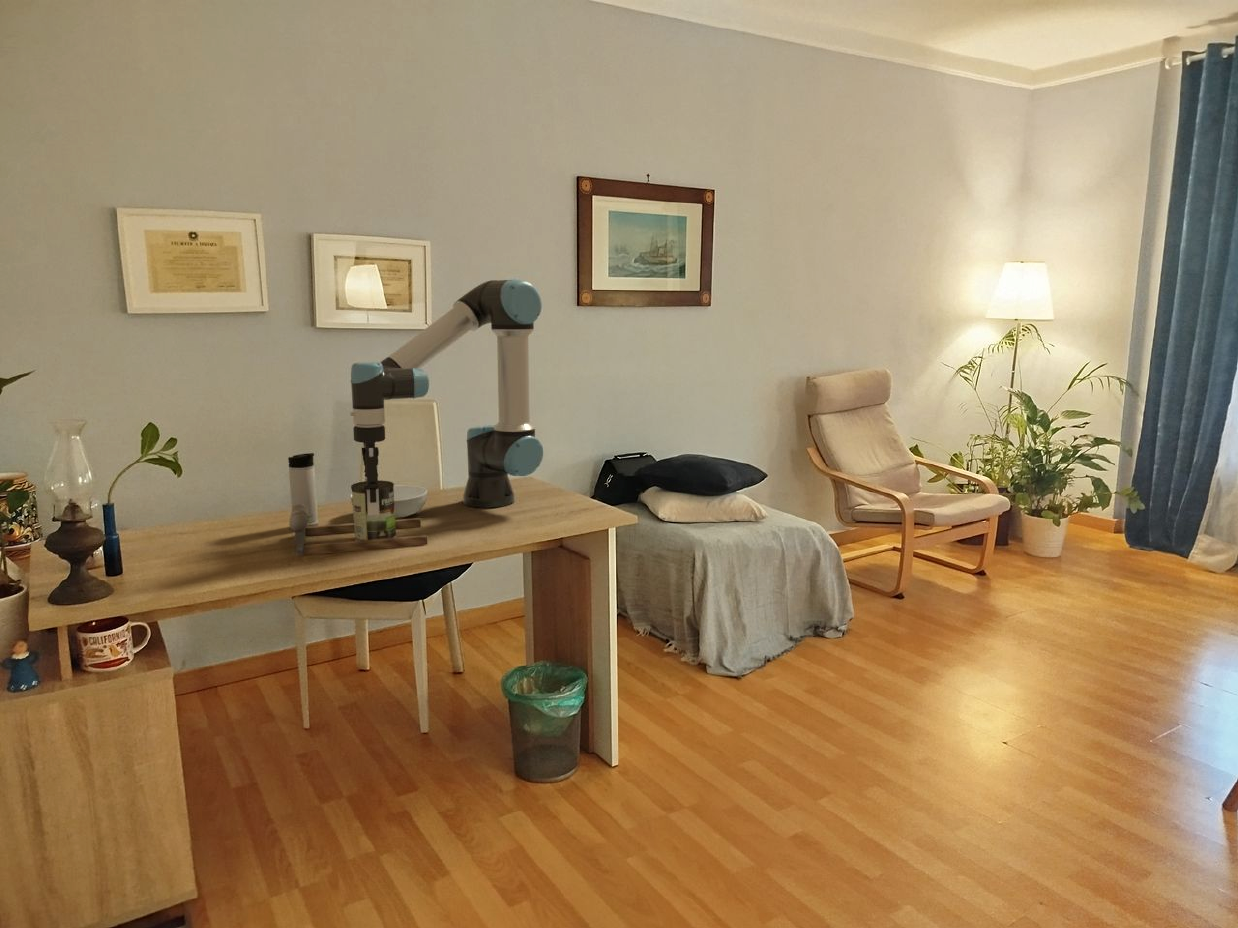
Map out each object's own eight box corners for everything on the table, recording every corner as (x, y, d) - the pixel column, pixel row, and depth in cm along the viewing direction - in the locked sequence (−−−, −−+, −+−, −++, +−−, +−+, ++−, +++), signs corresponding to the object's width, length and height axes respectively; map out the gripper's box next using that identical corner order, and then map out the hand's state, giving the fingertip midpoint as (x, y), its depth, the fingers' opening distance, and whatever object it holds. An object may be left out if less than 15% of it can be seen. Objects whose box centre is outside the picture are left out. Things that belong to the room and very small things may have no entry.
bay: (420, 525, 229) (418, 492, 227) (427, 544, 211) (425, 509, 209) (294, 535, 219) (291, 501, 217) (290, 556, 201) (287, 519, 200)
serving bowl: (426, 505, 251) (425, 482, 250) (430, 523, 231) (429, 498, 230) (352, 510, 246) (351, 486, 244) (350, 528, 226) (349, 503, 224)
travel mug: (311, 530, 223) (305, 455, 219) (288, 529, 225) (282, 454, 221) (324, 524, 229) (319, 451, 226) (301, 523, 231) (296, 450, 227)
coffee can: (403, 534, 220) (400, 480, 218) (385, 545, 210) (382, 489, 208) (366, 532, 222) (362, 479, 219) (346, 543, 212) (343, 488, 210)
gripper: (352, 419, 221) (355, 498, 225) (354, 432, 198) (358, 521, 202) (382, 418, 224) (385, 497, 227) (387, 431, 200) (390, 519, 204)
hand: (372, 508), depth 215 cm, fingers open, 13 cm apart
